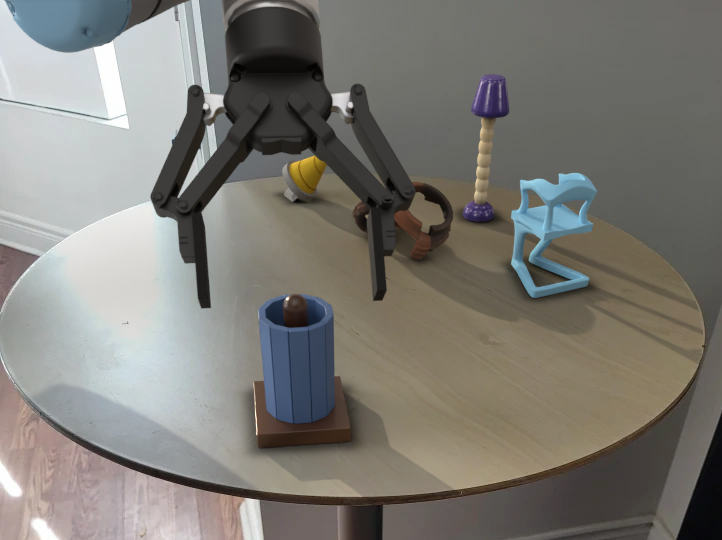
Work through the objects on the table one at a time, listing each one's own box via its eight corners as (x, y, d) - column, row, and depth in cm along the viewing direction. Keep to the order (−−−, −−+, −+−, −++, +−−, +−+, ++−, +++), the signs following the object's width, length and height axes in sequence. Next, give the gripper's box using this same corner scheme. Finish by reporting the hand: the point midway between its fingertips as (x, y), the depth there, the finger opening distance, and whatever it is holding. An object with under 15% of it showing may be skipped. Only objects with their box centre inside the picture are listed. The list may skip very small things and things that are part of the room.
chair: (547, 256, 95) (566, 154, 87) (589, 286, 89) (614, 180, 81) (494, 267, 92) (508, 163, 84) (533, 298, 87) (552, 191, 79)
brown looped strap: (421, 225, 102) (450, 179, 95) (435, 284, 98) (467, 241, 92) (336, 212, 96) (361, 162, 90) (349, 274, 93) (375, 228, 86)
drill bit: (296, 189, 110) (345, 144, 104) (300, 218, 108) (351, 175, 102) (267, 170, 106) (316, 123, 100) (270, 201, 104) (321, 155, 98)
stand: (258, 448, 66) (245, 323, 58) (254, 394, 72) (242, 274, 64) (351, 441, 67) (351, 318, 59) (340, 388, 73) (339, 269, 65)
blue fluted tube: (267, 426, 66) (259, 333, 60) (264, 386, 70) (256, 295, 64) (337, 421, 67) (336, 328, 61) (330, 381, 71) (328, 292, 65)
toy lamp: (453, 212, 104) (466, 74, 93) (480, 205, 106) (496, 69, 94) (475, 225, 101) (491, 84, 90) (503, 217, 103) (522, 79, 92)
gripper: (419, 60, 66) (440, 306, 66) (119, 62, 63) (137, 320, 62) (437, 1, 59) (461, 277, 58) (97, -1, 56) (118, 291, 55)
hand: (293, 300), depth 60 cm, fingers open, 13 cm apart
